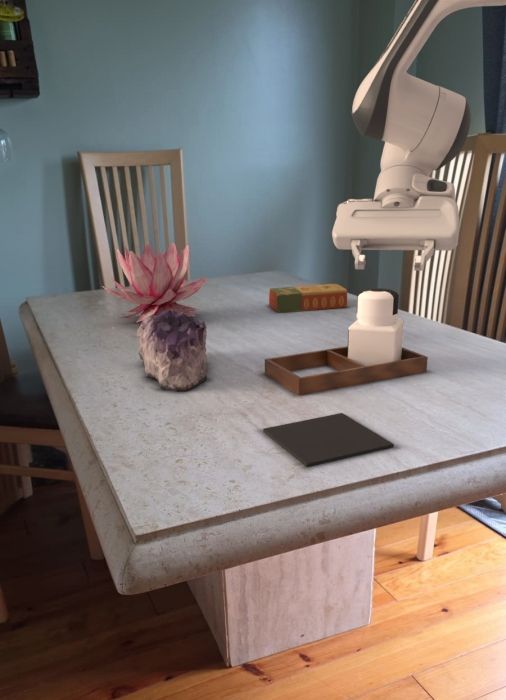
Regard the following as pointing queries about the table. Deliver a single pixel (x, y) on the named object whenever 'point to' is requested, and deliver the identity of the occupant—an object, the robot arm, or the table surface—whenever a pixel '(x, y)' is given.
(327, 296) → the carton
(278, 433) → the coaster
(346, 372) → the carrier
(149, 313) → the decorative flower
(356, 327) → the medicine bottle
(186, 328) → the geode
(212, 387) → the table surface
